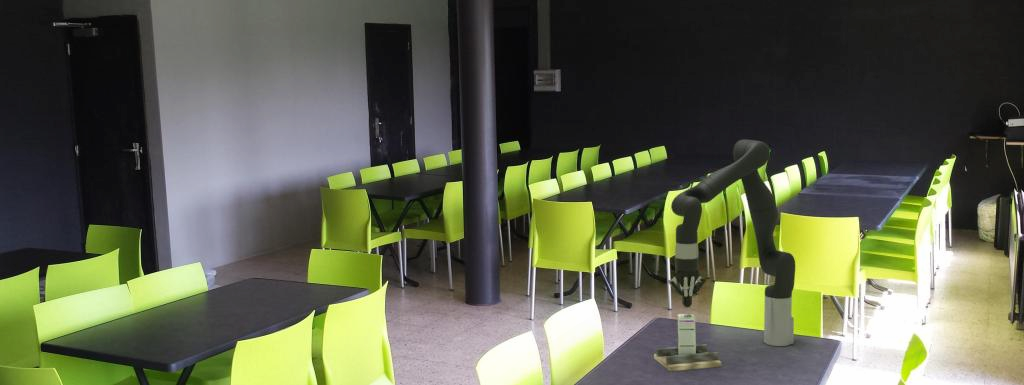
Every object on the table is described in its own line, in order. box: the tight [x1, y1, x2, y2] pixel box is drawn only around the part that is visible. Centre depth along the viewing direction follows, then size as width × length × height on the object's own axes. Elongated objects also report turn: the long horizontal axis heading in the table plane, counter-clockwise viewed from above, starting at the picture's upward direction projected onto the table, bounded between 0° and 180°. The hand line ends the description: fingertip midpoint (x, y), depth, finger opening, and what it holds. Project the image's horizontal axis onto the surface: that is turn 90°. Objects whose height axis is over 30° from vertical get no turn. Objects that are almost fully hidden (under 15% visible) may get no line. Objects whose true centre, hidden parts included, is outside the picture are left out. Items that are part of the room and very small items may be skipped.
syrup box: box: [677, 313, 697, 355], centre depth 298 cm, size 6×6×14 cm
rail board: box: [653, 343, 722, 372], centre depth 299 cm, size 18×14×4 cm
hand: (686, 306), depth 297 cm, fingers closed
